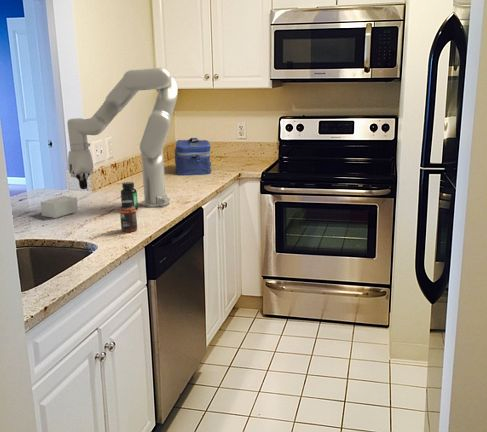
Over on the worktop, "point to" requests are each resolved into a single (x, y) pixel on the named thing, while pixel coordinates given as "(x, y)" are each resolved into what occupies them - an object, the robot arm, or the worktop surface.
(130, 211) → the supplement bottle
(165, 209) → the worktop surface
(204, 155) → the lunch bag
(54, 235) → the worktop surface
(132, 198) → the supplement bottle
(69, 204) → the small box
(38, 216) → the mat
